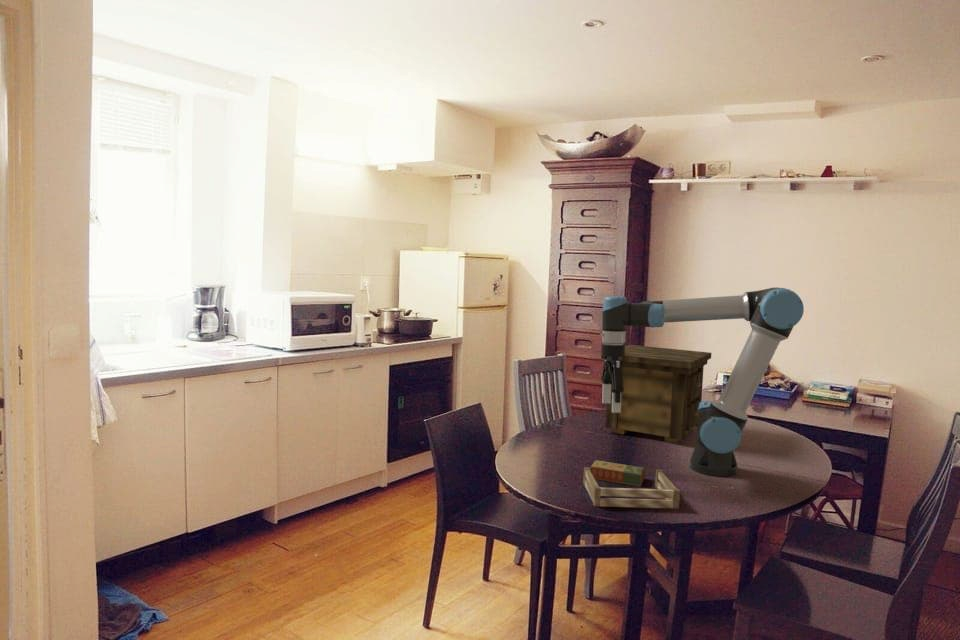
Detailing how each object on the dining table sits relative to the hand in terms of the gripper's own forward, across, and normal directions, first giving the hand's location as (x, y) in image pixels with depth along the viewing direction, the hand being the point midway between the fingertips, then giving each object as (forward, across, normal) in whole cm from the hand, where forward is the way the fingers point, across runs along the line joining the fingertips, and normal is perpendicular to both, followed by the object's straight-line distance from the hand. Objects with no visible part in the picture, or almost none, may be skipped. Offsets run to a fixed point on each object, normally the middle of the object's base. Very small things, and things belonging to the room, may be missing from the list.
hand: (611, 407), depth 209 cm
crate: (+21, -50, +30) cm, 62 cm away
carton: (+21, +9, 0) cm, 23 cm away
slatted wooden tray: (+21, +24, 0) cm, 32 cm away
